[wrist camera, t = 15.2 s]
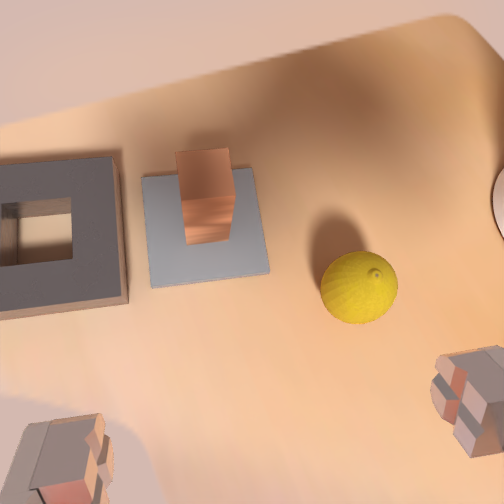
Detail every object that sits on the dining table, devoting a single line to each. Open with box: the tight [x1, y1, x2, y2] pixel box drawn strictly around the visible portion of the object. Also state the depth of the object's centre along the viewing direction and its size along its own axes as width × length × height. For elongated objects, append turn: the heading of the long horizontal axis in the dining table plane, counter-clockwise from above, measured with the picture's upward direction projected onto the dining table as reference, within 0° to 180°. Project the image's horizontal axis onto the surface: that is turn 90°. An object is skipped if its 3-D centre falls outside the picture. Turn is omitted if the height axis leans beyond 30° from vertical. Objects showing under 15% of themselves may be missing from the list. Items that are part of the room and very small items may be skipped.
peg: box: [175, 148, 236, 245], centre depth 32 cm, size 4×4×9 cm
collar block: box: [0, 156, 128, 321], centre depth 33 cm, size 12×12×3 cm
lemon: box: [320, 251, 398, 324], centre depth 32 cm, size 6×6×8 cm
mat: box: [141, 168, 270, 289], centre depth 36 cm, size 10×10×1 cm
